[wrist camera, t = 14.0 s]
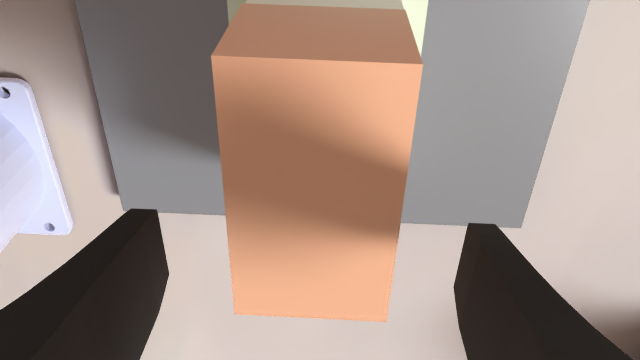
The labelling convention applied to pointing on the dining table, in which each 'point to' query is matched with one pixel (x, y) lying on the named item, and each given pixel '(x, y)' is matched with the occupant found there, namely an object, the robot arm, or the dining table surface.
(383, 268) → the terracotta brick
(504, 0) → the baseplate
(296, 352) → the dining table surface
